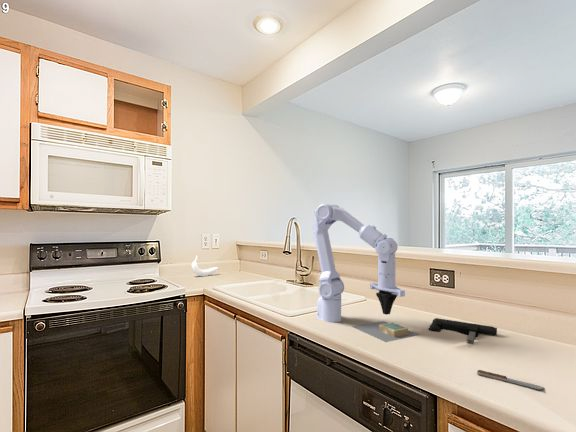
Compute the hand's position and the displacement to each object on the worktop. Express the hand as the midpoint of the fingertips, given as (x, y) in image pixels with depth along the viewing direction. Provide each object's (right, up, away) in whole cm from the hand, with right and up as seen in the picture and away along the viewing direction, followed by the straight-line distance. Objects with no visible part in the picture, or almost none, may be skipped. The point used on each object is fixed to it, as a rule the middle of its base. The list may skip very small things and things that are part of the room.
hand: (386, 313), depth 115 cm
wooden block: (0, -4, 0) cm, 4 cm away
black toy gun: (+24, -7, -2) cm, 26 cm away
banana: (-90, -8, +114) cm, 145 cm away
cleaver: (+19, -6, -35) cm, 40 cm away
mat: (-1, -6, -1) cm, 6 cm away
